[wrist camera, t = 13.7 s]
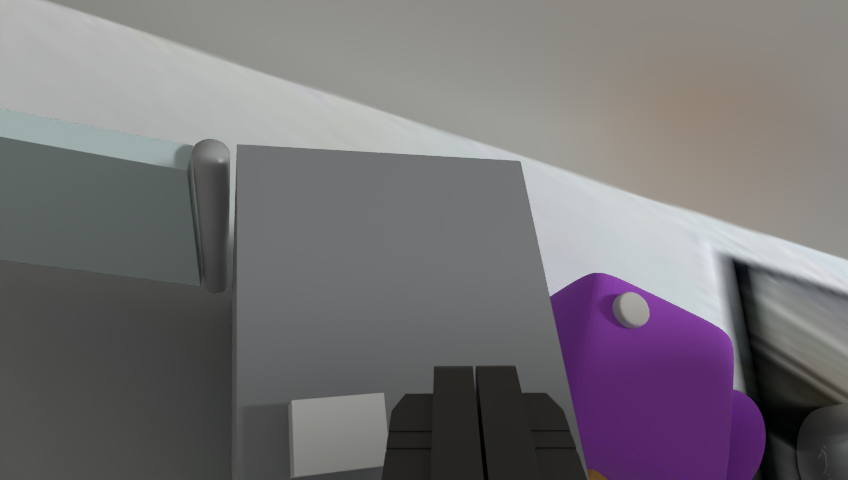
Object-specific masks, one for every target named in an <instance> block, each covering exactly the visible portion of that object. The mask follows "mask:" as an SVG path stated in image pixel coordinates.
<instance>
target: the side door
mask: <svg viewBox="0 0 848 480" xmlns="http://www.w3.org/2000/svg"><path fill="white" fill-rule="evenodd" d="M229 195H230V152H229V149H228V148H227V146H226V145H225V144H224V143H222V142H220V141H218V140H214V139H206V140H202V141H200V142H198V143H197V144H196V145H195V146H194V148H193V146H191V145H186V144H181V143H176V142H171V141H166V140H160V139H155V138H150V137H145V136H140V135H135V134H129V133H124V132H119V131H114V130H109V129H103V128H98V127H93V126H88V125H83V124H78V123H72V122H67V121H62V120H57V119H52V118H47V117H41V116H36V115H31V114H26V113H21V112H15V111H10V110H5V109H0V260H5V261H12V262H20V263H27V264H35V265H42V266H50V267H57V268H65V269H73V270H80V271H88V272H95V273H103V274H110V275H118V276H125V277H133V278H140V279H148V280H155V281H163V282H170V283H178V284H185V285H193V286H201V281H202V277H203V274H204V284H205V287H206V289H207V290H208V291H209V292H212V293H221V292H223V291H224V290H225V289H226V288H227V286H228V271H229Z"/></svg>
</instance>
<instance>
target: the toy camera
mask: <svg viewBox="0 0 848 480" xmlns="http://www.w3.org/2000/svg"><path fill="white" fill-rule="evenodd" d="M550 301H551V306H552V310H553V315H554V319H555V324H556V329H557V333H558V338H559V343H560V347H561V352H562V356H563V361H564V366H565V370H566V375H567V380H568V384H569V389H570V393H571V398H572V403H573V407H574V412H575V416H576V421H577V426H578V430H579V435H580V440H581V444H582V449H583V453H584V458H585V463H586V467H587V472H588V477H589V480H752V478H753V477H754V475H755V474H756V472H757V470H758V468H759V466H760V463H761V460H762V457H763V454H764V450H765V441H766V433H765V425H764V420H763V417H762V415H761V412H760V410H759V409H758V407H757V405H756V404H755V403H754V402H753V400H752V399H751V398H749V397H748V396H747V395H745V394H744V393H742V392H740V391H737V390H733V374H734V355H733V346H732V342H731V340H730V338H729V336H728V335H727V334H726V333H725V332H724V331H723V330H721V329H720V328H719V327H717V326H715V325H713V324H712V323H710V322H708V321H706V320H704V319H702V318H700V317H698V316H696V315H694V314H692V313H690V312H688V311H686V310H684V309H682V308H680V307H678V306H676V305H674V304H672V303H670V302H668V301H665V300H663V299H661V298H659V297H657V296H655V295H653V294H651V293H649V292H647V291H645V290H643V289H640V288H638V287H636V286H634V285H632V284H630V283H628V282H625V281H623V280H621V279H619V278H616V277H614V276H611V275H608V274H604V273H593V274H589V275H586V276H584V277H582V278H580V279H578V280H576V281H575V282H573V283H571V284H569V285H568V286H566V287H565V288H563V289H561V290H560V291H558V292H557V293H555V294H553V295H552V296H550Z"/></svg>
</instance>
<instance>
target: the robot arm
mask: <svg viewBox="0 0 848 480" xmlns="http://www.w3.org/2000/svg"><path fill="white" fill-rule="evenodd" d="M797 461H798V468H799V472H800V476H801V479H802V480H848V403H847V404H840V405H834V406H828V407H821V408H819V409H816V410H814V411H812V412H811V413H810V414H809V415H808V416H807V417H806V418H805V420H804V421H803V423H802V425H801V427H800V430H799V434H798V438H797ZM381 480H587V478H586V475H585V472H584V469H583V466H582V463H581V460H580V457H579V454H578V452H577V451H576V445H575V442H574V439H573V436H572V434H571V433H570V428H569V425H568V422H567V419H566V416H565V413H564V410H563V409H562V408H561V407H560V406H559V405H558V404H557V403H556V402H555V401H554V400H553V399H552V398H551V397H550V396H549V395H548V394H547V393H522V391H521V387H520V382H519V378H518V374H517V369H516V366H515V365H487V366H476V369H475V383H474V373H473V366H434V380H433V393H426V394H405V395H404V396H403V397H402V398H401V400H400V401H399V402H398V403H397V405H396V406H395V407H394V408H393V410H392V411H391V418H390V424H389V435H388V438H387V445H386V452H385V459H384V465H383V472H382V479H381Z"/></svg>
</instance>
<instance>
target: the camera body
mask: <svg viewBox="0 0 848 480" xmlns="http://www.w3.org/2000/svg"><path fill="white" fill-rule="evenodd" d="M487 365H515V366H516V369H517V374H518V378H519V382H520V387H521V391H522V393H547V394H548V395H549V396H550V397H551V398H552V399H553V400H554V401H555V402H556V403H557V404H558V405H559V406H560V407H561V408H562V409H563V410H564V413H565V416H566V419H567V422H568V425H569V428H570V433H571V434H572V436H573V439H574V442H575V445H576V451H577V452H578V454H579V457H580V460H581V463H582V466H583V469H584V472H585V475H586V478H587V480H589V477H588V472H587V467H586V463H585V458H584V453H583V449H582V444H581V440H580V435H579V430H578V426H577V421H576V416H575V412H574V407H573V403H572V398H571V393H570V389H569V384H568V380H567V375H566V370H565V366H564V361H563V356H562V352H561V347H560V343H559V338H558V333H557V329H556V324H555V319H554V315H553V310H552V306H551V301H550V296H549V292H548V287H547V283H546V278H545V273H544V269H543V264H542V259H541V255H540V250H539V246H538V241H537V236H536V232H535V227H534V222H533V218H532V213H531V209H530V204H529V199H528V195H527V190H526V185H525V181H524V176H523V172H522V167H521V162H520V161H510V160H493V159H476V158H459V157H442V156H425V155H408V154H391V153H374V152H357V151H340V150H323V149H306V148H289V147H272V146H255V145H238V144H237V160H236V191H235V222H234V253H233V283H232V424H231V480H381V479H382V472H383V465H384V459H385V452H386V445H387V438H388V435H389V424H390V418H391V411H392V410H393V408H394V407H395V406H396V405H397V403H398V402H399V401H400V400H401V398H402V397H403V396H404V395H405V394H426V393H433V380H434V366H473V373H474V383H475V369H476V366H487Z"/></svg>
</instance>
